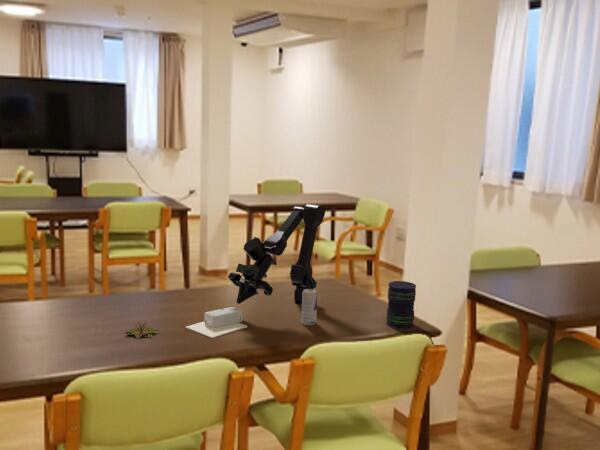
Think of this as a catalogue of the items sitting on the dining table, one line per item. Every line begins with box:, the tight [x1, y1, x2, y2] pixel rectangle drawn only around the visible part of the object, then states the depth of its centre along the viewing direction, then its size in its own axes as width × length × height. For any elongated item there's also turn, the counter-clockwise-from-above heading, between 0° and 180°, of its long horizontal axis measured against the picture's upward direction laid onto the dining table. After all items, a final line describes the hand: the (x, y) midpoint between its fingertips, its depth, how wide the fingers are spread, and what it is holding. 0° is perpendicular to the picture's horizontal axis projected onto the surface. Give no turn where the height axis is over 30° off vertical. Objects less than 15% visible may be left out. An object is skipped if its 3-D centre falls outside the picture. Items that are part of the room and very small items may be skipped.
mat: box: [185, 320, 248, 339], centre depth 208 cm, size 16×14×1 cm
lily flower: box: [125, 320, 159, 339], centre depth 200 cm, size 12×12×5 cm
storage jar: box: [385, 280, 417, 330], centre depth 216 cm, size 10×10×15 cm
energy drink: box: [300, 288, 318, 326], centre depth 215 cm, size 5×5×12 cm
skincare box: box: [204, 306, 244, 328], centre depth 212 cm, size 6×4×12 cm
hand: (237, 303), depth 214 cm, fingers closed
